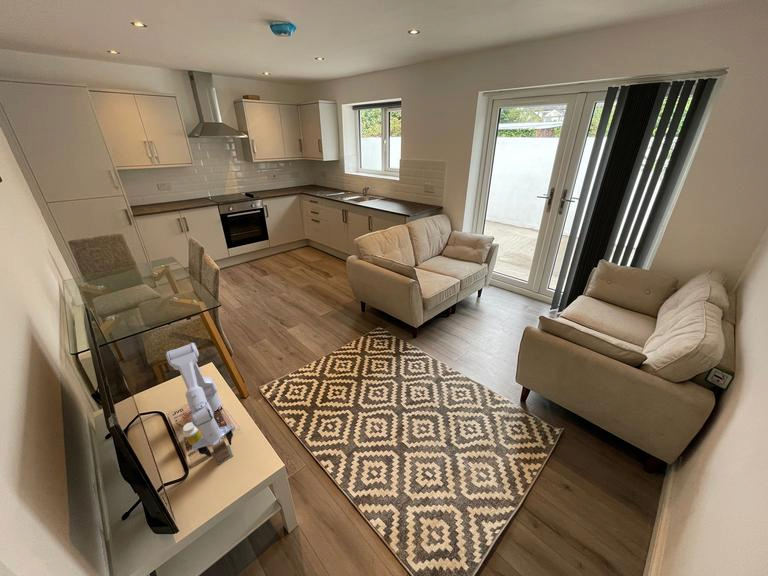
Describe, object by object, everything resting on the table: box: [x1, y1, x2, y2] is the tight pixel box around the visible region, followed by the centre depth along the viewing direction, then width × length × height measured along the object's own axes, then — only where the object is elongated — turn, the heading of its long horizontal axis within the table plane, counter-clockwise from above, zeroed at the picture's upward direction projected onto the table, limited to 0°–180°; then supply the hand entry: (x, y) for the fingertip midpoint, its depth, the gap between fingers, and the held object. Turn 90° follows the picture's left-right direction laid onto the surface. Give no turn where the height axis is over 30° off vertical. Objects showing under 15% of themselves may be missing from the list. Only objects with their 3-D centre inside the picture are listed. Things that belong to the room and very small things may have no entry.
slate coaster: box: [213, 444, 234, 466], centre depth 126 cm, size 6×6×1 cm
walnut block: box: [212, 439, 231, 462], centre depth 125 cm, size 4×4×6 cm
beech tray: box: [181, 435, 222, 469], centre depth 130 cm, size 15×13×2 cm
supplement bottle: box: [182, 421, 203, 446], centre depth 130 cm, size 5×5×10 cm
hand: (220, 448), depth 124 cm, fingers open, 7 cm apart
